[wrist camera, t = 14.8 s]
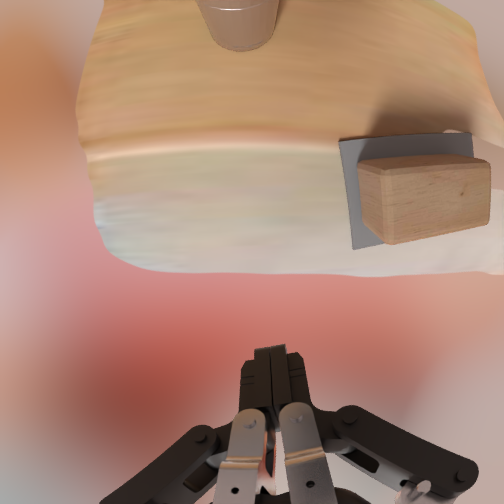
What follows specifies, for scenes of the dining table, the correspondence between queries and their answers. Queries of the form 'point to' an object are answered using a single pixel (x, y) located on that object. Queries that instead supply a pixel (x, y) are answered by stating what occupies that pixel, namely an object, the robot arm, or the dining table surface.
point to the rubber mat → (389, 148)
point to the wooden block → (423, 195)
